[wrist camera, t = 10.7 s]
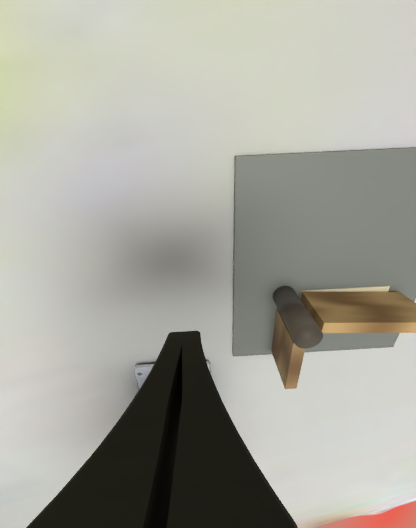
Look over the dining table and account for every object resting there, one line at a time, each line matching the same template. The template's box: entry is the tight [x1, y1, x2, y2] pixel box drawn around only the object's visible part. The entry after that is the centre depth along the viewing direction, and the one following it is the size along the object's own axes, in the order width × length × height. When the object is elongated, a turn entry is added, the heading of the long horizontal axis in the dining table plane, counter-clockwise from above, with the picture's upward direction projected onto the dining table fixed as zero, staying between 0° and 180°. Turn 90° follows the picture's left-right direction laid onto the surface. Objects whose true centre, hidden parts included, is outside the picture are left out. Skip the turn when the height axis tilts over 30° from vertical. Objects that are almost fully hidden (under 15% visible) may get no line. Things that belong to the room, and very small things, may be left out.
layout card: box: [233, 148, 416, 356], centre depth 20 cm, size 19×17×1 cm
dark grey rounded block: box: [271, 286, 323, 389], centre depth 19 cm, size 8×2×5 cm, turn 2°
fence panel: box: [300, 292, 416, 333], centre depth 19 cm, size 9×1×4 cm, turn 88°
